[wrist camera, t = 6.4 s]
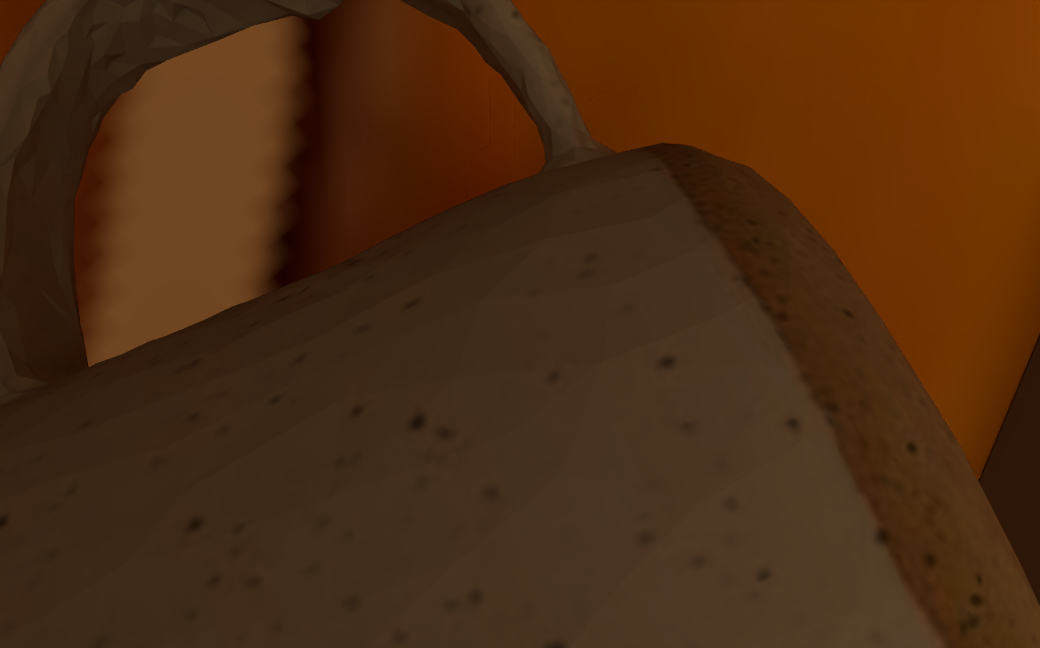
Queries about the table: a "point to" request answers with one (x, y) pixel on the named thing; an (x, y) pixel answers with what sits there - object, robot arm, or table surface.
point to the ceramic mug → (474, 409)
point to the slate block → (1019, 474)
